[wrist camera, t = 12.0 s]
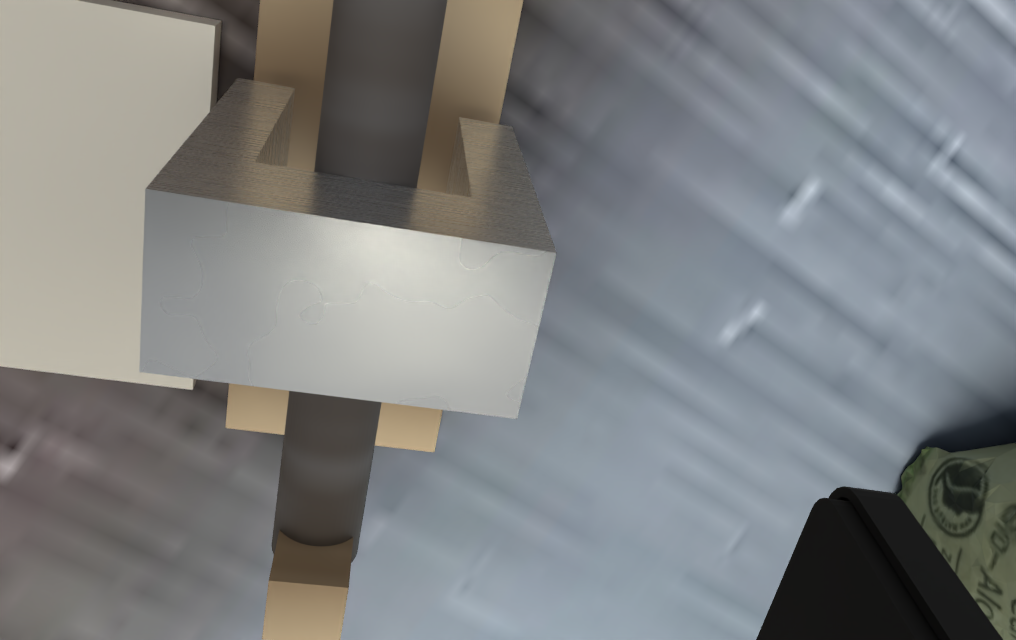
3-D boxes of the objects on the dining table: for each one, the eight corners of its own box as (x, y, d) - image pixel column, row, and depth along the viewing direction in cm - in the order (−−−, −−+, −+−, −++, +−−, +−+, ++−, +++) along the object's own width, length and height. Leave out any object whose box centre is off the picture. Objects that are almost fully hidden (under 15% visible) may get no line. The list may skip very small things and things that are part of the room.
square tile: (-184, 328, 25) (-201, 341, 24) (-236, -65, 21) (-259, -62, 20) (198, 375, 27) (192, 389, 26) (221, 21, 22) (215, 25, 22)
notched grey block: (228, 209, 21) (139, 372, 14) (238, 78, 20) (144, 189, 13) (486, 249, 22) (517, 419, 15) (512, 126, 21) (556, 252, 14)
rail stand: (433, 433, 28) (440, 698, 19) (231, 409, 27) (140, 676, 18) (564, -240, 21) (677, -318, 12) (291, -308, 20) (185, -448, 11)
